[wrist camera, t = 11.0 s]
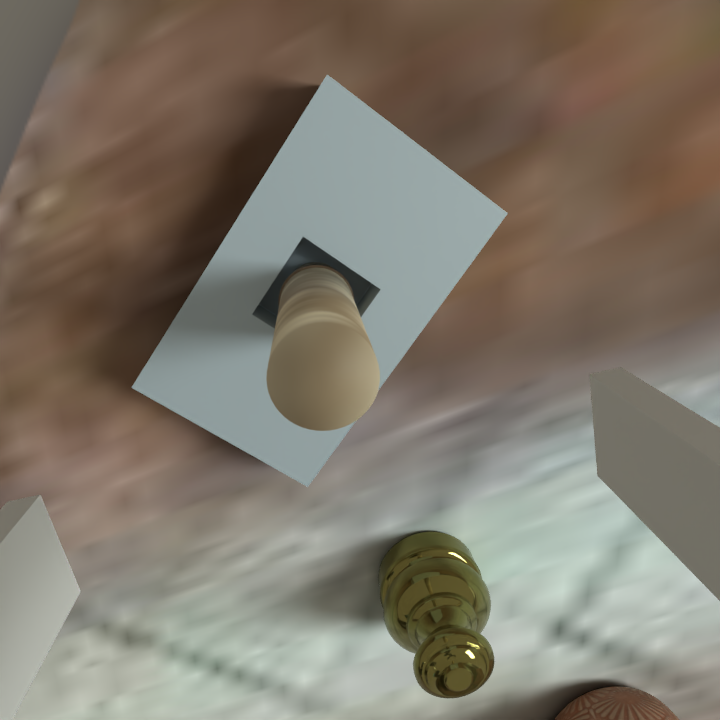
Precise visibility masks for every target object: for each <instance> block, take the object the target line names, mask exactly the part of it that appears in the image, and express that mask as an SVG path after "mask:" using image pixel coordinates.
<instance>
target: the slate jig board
mask: <svg viewBox="0 0 720 720" xmlns="http://www.w3.org/2000/svg"><path fill="white" fill-rule="evenodd" d="M507 214H508V213H507V212H505V211H504V210H503V209H501V208H500V207H499V206H498V205H496V204H495V203H494V202H492V201H491V200H490V199H488V198H487V197H486V196H484V195H483V194H482V193H481V192H479V191H478V190H477V189H475V188H474V187H473V186H471V185H470V184H469V183H468V182H466V181H465V180H464V179H462V178H461V177H460V176H458V175H457V174H456V173H455V172H453V171H452V170H451V169H449V168H448V167H447V166H445V165H444V164H443V163H442V162H440V161H439V160H438V159H436V158H435V157H434V156H432V155H431V154H430V153H429V152H427V151H426V150H425V149H423V148H422V147H421V146H419V145H418V144H417V143H416V142H414V141H413V140H412V139H410V138H409V137H408V136H406V135H405V134H404V133H403V132H401V131H400V130H399V129H397V128H396V127H395V126H393V125H392V124H391V123H390V122H388V121H387V120H386V119H384V118H383V117H382V116H380V115H379V114H378V113H377V112H375V111H374V110H373V109H371V108H370V107H369V106H367V105H366V104H365V103H364V102H362V101H361V100H360V99H358V98H357V97H356V96H354V95H353V94H352V93H351V92H349V91H348V90H347V89H345V88H344V87H343V86H341V85H340V84H339V83H338V82H336V81H335V80H334V79H332V78H331V77H330V76H328V75H327V76H326V77H325V79H324V80H323V82H322V84H321V85H320V87H319V88H318V90H317V92H316V93H315V95H314V96H313V98H312V100H311V101H310V103H309V104H308V106H307V108H306V109H305V111H304V112H303V114H302V116H301V117H300V119H299V120H298V122H297V124H296V125H295V127H294V128H293V130H292V132H291V133H290V135H289V136H288V138H287V140H286V141H285V143H284V144H283V146H282V148H281V149H280V151H279V152H278V154H277V156H276V157H275V159H274V160H273V162H272V164H271V165H270V167H269V168H268V170H267V172H266V173H265V175H264V176H263V178H262V180H261V181H260V183H259V184H258V186H257V188H256V189H255V191H254V192H253V194H252V196H251V197H250V199H249V200H248V202H247V204H246V205H245V207H244V208H243V210H242V212H241V213H240V215H239V216H238V218H237V220H236V221H235V223H234V224H233V226H232V228H231V229H230V231H229V232H228V234H227V236H226V237H225V239H224V240H223V242H222V244H221V245H220V247H219V248H218V250H217V252H216V253H215V255H214V256H213V258H212V260H211V261H210V263H209V264H208V266H207V268H206V269H205V271H204V272H203V274H202V276H201V277H200V279H199V280H198V282H197V284H196V285H195V287H194V288H193V290H192V292H191V293H190V295H189V296H188V298H187V300H186V301H185V303H184V304H183V306H182V308H181V309H180V311H179V312H178V314H177V316H176V317H175V319H174V320H173V322H172V324H171V325H170V327H169V328H168V330H167V332H166V333H165V335H164V336H163V338H162V340H161V341H160V343H159V344H158V346H157V348H156V349H155V351H154V352H153V354H152V355H151V357H150V359H149V360H148V362H147V363H146V365H145V367H144V368H143V370H142V371H141V373H140V375H139V376H138V378H137V379H136V381H135V383H134V384H133V386H132V387H131V388H133V389H135V390H136V391H138V392H140V393H142V394H144V395H145V396H147V397H149V398H151V399H152V400H154V401H156V402H158V403H160V404H161V405H163V406H165V407H167V408H168V409H170V410H172V411H174V412H176V413H177V414H179V415H181V416H183V417H184V418H186V419H188V420H190V421H192V422H193V423H195V424H197V425H199V426H200V427H202V428H204V429H206V430H208V431H209V432H211V433H213V434H215V435H216V436H218V437H220V438H222V439H224V440H225V441H227V442H229V443H231V444H232V445H234V446H236V447H238V448H240V449H241V450H243V451H245V452H247V453H248V454H250V455H252V456H254V457H256V458H257V459H259V460H261V461H263V462H264V463H266V464H268V465H270V466H272V467H273V468H275V469H277V470H279V471H280V472H282V473H284V474H286V475H288V476H289V477H291V478H293V479H295V480H296V481H298V482H300V483H302V484H304V485H305V486H307V487H308V486H309V485H310V483H311V482H312V480H313V479H314V478H315V476H316V475H317V474H318V472H319V471H320V470H321V468H322V467H323V465H324V464H325V463H326V461H327V460H328V459H329V457H330V456H331V454H332V453H333V452H334V450H335V449H336V448H337V446H338V445H339V444H340V442H341V441H342V439H343V438H344V437H345V435H346V434H347V433H348V431H349V430H350V428H351V427H352V426H353V424H354V423H355V422H356V421H355V422H353V423H351V424H349V425H347V426H345V427H342V428H339V429H335V430H330V431H315V430H309V429H306V428H302V427H300V426H298V425H295V424H294V423H292V422H290V421H289V420H288V419H286V418H285V417H284V416H283V415H282V414H281V413H280V412H279V411H278V410H277V408H276V407H275V406H274V404H273V402H272V400H271V398H270V395H269V392H268V388H267V381H266V376H267V368H268V362H269V357H270V352H271V346H272V341H273V336H274V330H275V325H276V320H277V314H278V309H279V305H278V301H279V294H280V290H281V287H282V285H283V283H284V282H285V280H286V279H287V278H288V276H289V275H290V274H292V273H293V271H294V270H296V269H297V268H298V267H300V266H301V265H303V264H306V263H310V262H320V263H324V264H327V265H329V266H331V267H332V268H334V269H335V270H337V271H338V272H340V273H341V274H342V275H343V276H344V277H345V278H346V279H347V281H348V282H349V284H350V286H351V288H352V291H353V295H354V301H355V304H356V306H357V309H358V311H359V314H360V317H361V319H362V322H363V324H364V327H365V330H366V332H367V335H368V337H369V340H370V343H371V345H372V348H373V350H374V353H375V355H376V358H377V361H378V364H379V370H380V383H379V389H380V387H381V386H382V385H383V383H384V382H385V381H386V379H387V378H388V376H389V375H390V374H391V372H392V371H393V370H394V368H395V367H396V366H397V364H398V363H399V361H400V360H401V359H402V357H403V356H404V355H405V353H406V352H407V350H408V349H409V348H410V346H411V345H412V344H413V342H414V341H415V340H416V338H417V337H418V335H419V334H420V333H421V331H422V330H423V329H424V327H425V326H426V324H427V323H428V322H429V320H430V319H431V318H432V316H433V315H434V314H435V312H436V311H437V309H438V308H439V307H440V305H441V304H442V303H443V301H444V300H445V298H446V297H447V296H448V294H449V293H450V292H451V290H452V289H453V288H454V286H455V285H456V283H457V282H458V281H459V279H460V278H461V277H462V275H463V274H464V272H465V271H466V270H467V268H468V267H469V266H470V264H471V263H472V262H473V260H474V259H475V257H476V256H477V255H478V253H479V252H480V251H481V249H482V248H483V246H484V245H485V244H486V242H487V241H488V240H489V238H490V237H491V236H492V234H493V233H494V231H495V230H496V229H497V227H498V226H499V225H500V223H501V222H502V220H503V219H504V218H505V216H506V215H507ZM379 389H378V390H379Z"/></svg>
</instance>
